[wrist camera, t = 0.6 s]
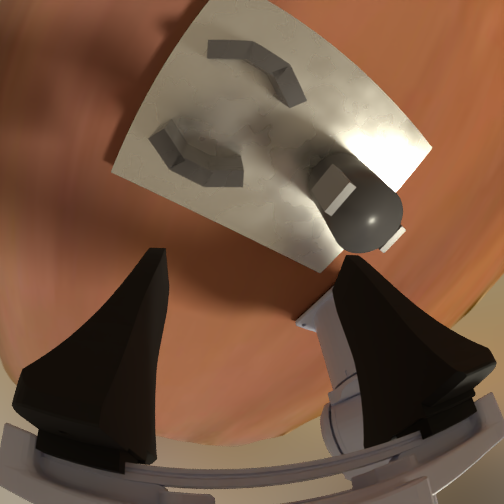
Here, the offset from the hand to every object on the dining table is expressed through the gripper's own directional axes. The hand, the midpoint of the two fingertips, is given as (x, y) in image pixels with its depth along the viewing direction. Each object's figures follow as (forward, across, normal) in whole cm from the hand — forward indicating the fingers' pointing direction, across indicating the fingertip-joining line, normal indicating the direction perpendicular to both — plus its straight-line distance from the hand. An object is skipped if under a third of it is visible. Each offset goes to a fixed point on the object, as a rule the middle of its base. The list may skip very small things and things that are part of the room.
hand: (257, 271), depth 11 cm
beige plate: (+10, -3, -3) cm, 10 cm away
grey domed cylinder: (+8, -6, -1) cm, 11 cm away
